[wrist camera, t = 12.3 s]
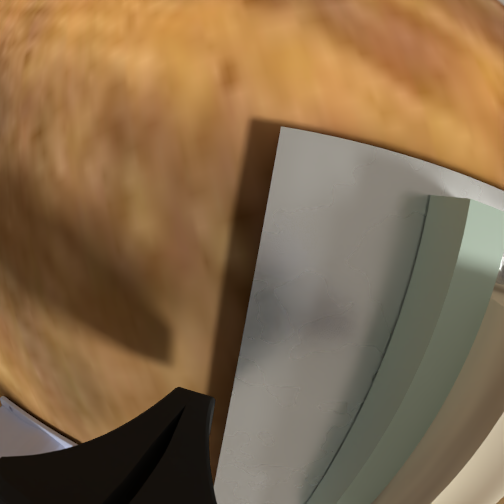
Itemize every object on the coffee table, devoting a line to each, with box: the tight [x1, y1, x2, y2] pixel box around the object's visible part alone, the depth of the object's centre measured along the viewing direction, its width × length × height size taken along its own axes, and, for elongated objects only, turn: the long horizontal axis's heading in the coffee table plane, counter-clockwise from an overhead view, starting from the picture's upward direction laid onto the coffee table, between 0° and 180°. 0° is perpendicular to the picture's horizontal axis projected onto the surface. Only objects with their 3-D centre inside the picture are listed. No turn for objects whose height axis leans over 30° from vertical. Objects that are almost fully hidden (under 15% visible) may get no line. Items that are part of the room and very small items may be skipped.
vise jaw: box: [306, 195, 504, 504], centre depth 9 cm, size 2×17×2 cm, turn 170°
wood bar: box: [371, 283, 504, 504], centre depth 7 cm, size 4×12×5 cm, turn 170°
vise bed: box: [214, 126, 504, 504], centre depth 9 cm, size 13×19×4 cm
